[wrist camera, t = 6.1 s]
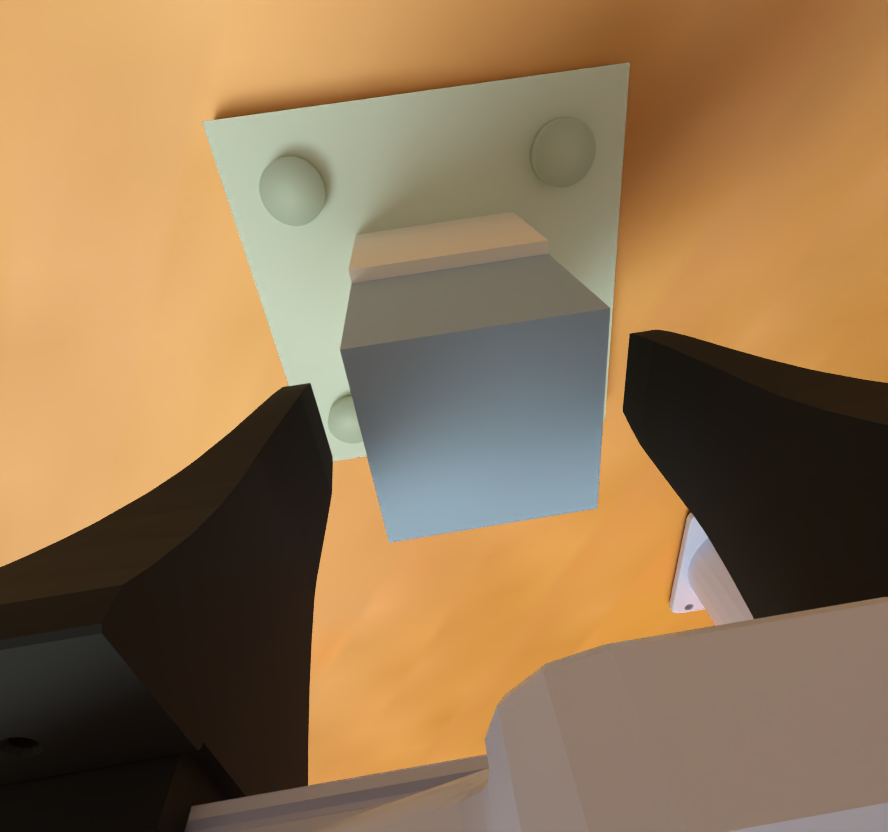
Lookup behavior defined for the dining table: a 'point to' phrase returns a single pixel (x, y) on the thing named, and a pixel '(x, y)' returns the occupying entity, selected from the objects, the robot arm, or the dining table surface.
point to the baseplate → (416, 196)
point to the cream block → (443, 246)
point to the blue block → (478, 393)
